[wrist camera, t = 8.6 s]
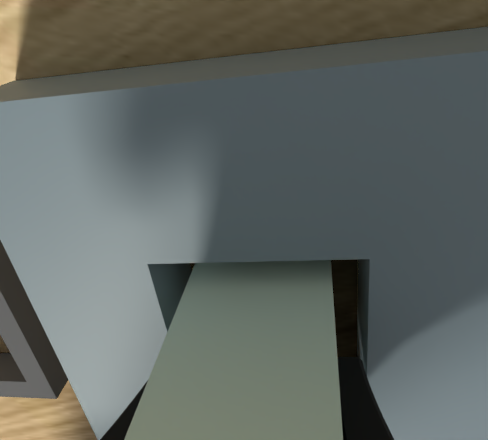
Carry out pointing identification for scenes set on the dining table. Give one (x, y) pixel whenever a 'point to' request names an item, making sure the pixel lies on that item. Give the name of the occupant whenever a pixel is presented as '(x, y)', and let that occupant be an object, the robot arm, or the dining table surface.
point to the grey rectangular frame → (24, 343)
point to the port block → (262, 208)
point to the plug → (247, 357)
